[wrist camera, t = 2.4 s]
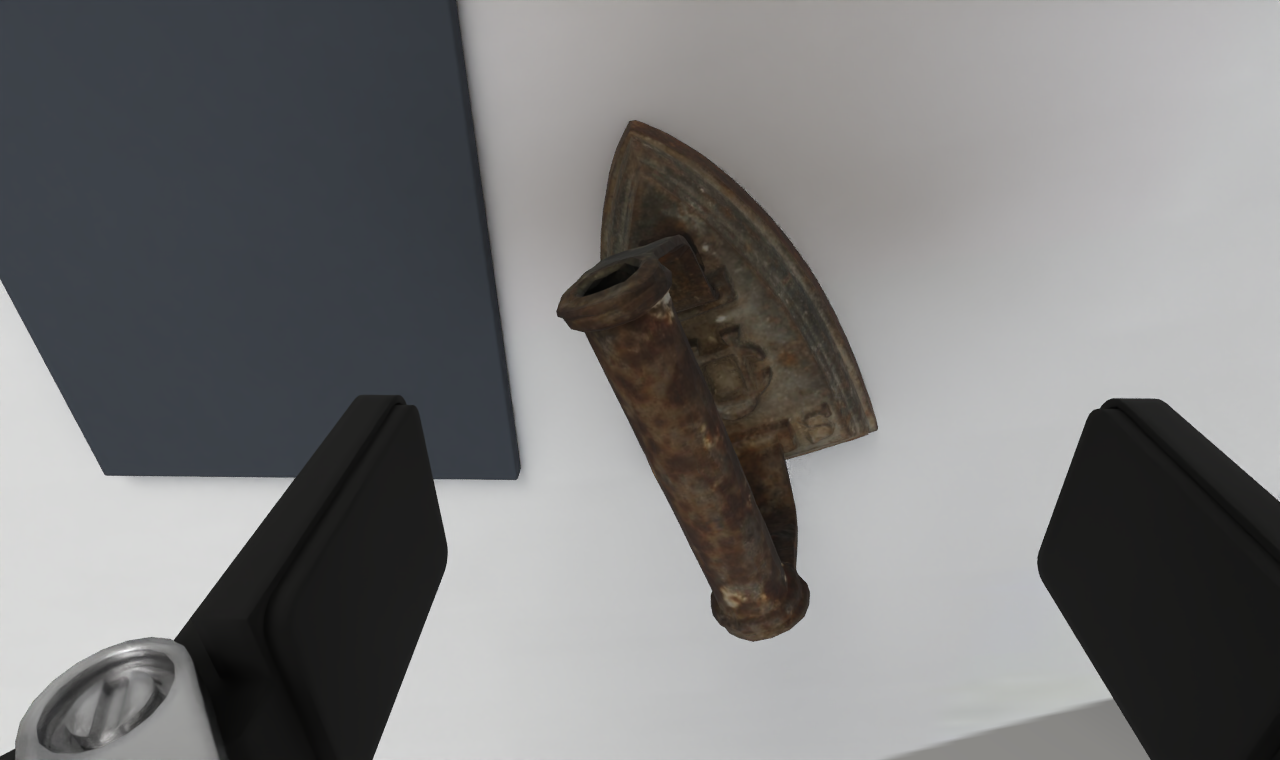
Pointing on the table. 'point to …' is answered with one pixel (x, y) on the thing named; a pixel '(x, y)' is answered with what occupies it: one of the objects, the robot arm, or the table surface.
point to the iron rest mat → (250, 228)
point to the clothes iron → (717, 366)
